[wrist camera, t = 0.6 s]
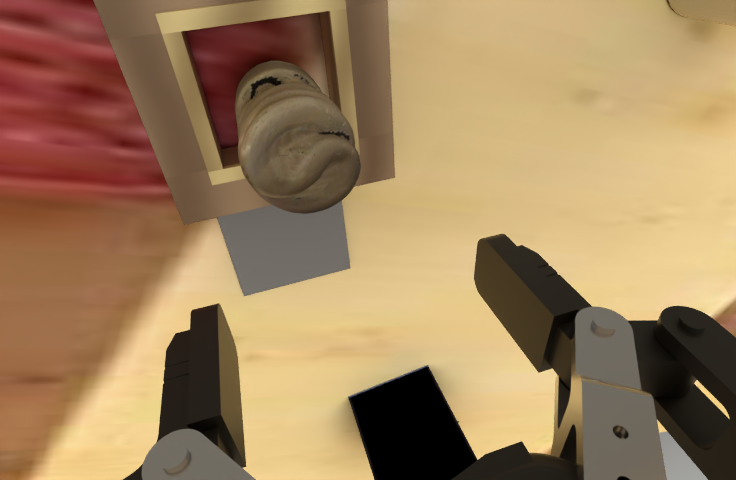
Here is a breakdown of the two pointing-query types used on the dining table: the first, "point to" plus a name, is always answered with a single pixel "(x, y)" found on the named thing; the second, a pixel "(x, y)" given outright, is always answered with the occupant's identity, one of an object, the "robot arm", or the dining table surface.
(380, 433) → the vase
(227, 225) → the mat
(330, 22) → the socket block
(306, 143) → the tan ridged rounded piece
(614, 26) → the dining table surface
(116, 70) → the dining table surface
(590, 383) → the robot arm
